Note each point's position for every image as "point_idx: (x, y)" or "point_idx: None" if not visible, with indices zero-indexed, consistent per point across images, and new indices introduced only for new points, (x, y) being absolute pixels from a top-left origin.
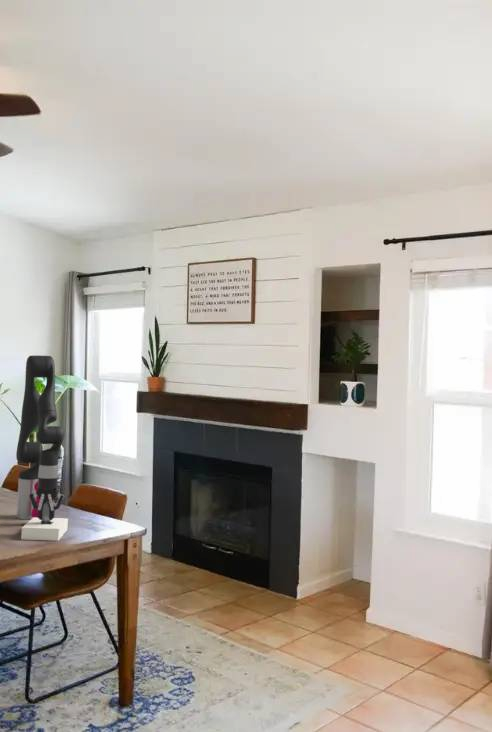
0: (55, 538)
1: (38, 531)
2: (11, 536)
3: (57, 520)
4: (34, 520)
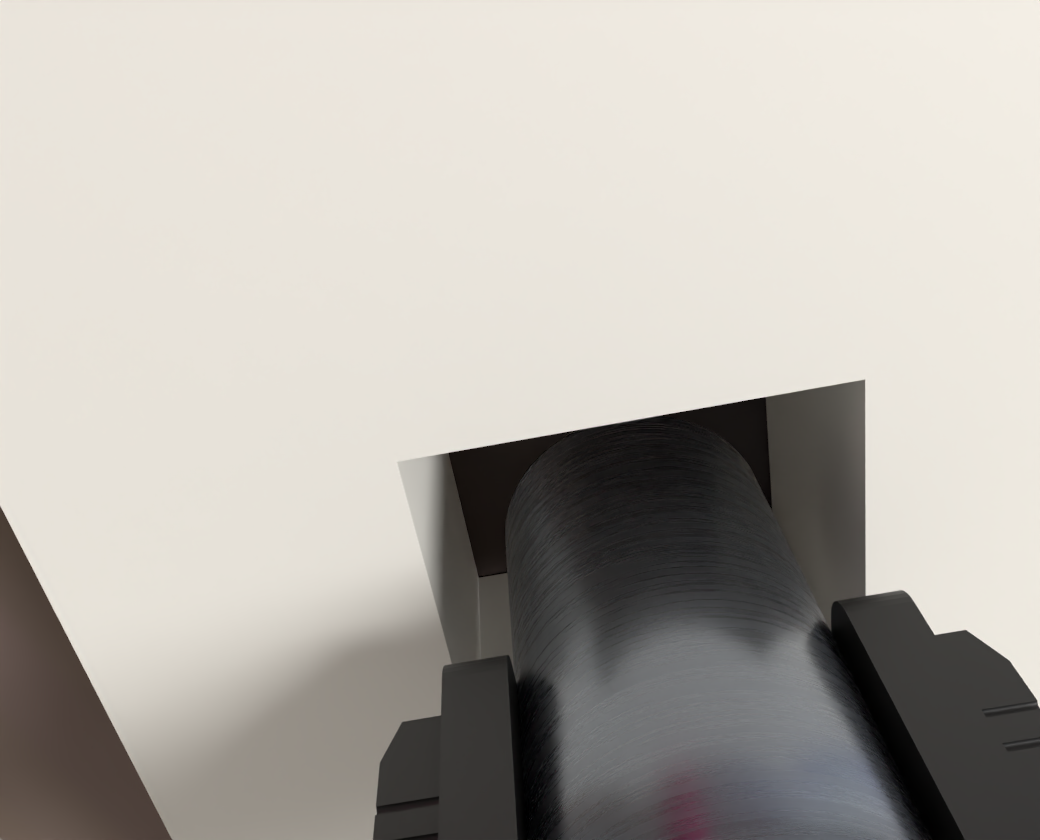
0: None
1: None
2: (41, 775)
3: (967, 100)
4: (123, 407)
